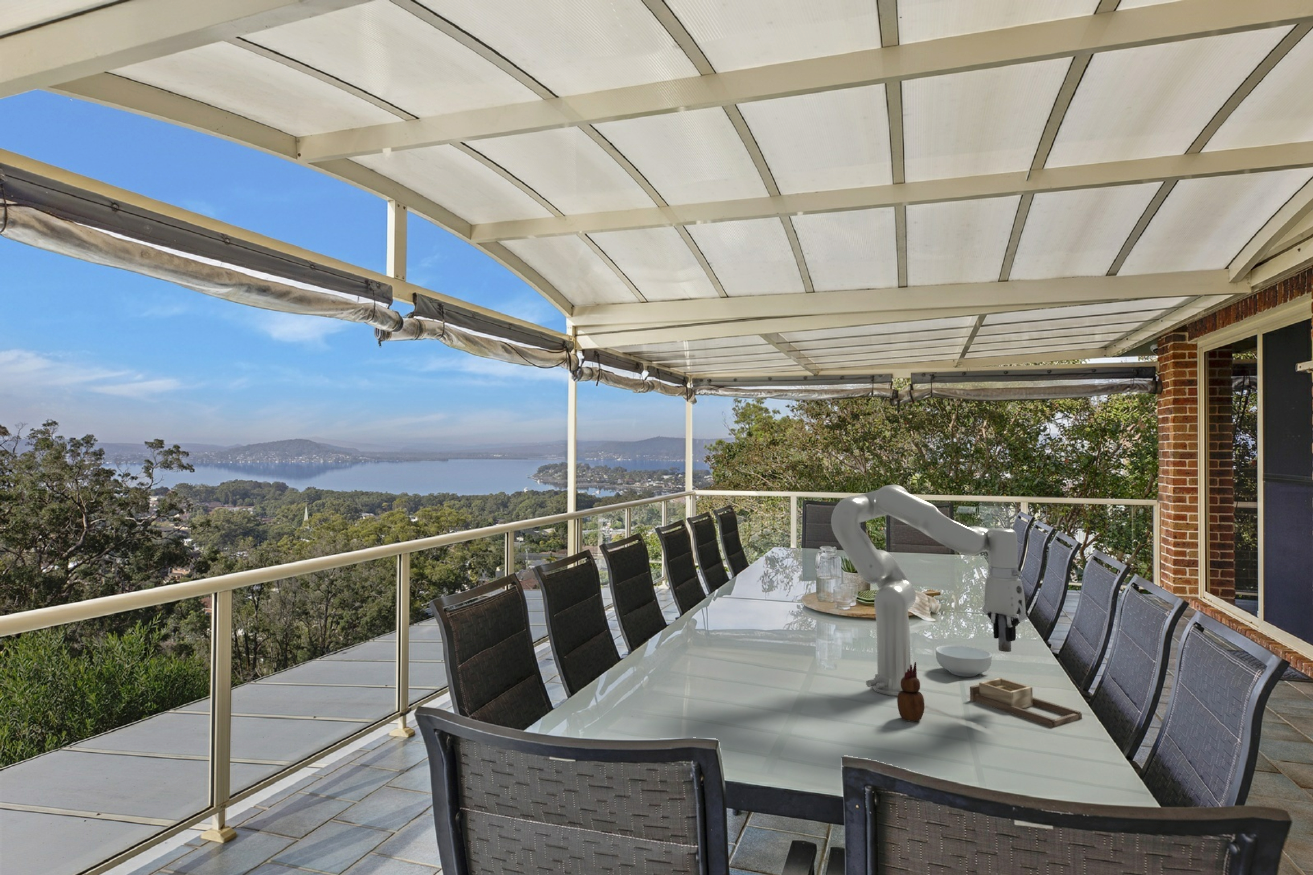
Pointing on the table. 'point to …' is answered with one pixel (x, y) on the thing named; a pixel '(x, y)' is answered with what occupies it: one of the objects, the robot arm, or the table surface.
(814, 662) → the table surface
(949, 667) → the cereal bowl
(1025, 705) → the crate
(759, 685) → the table surface
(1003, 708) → the tray
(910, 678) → the wooden figurine
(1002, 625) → the handle peg
